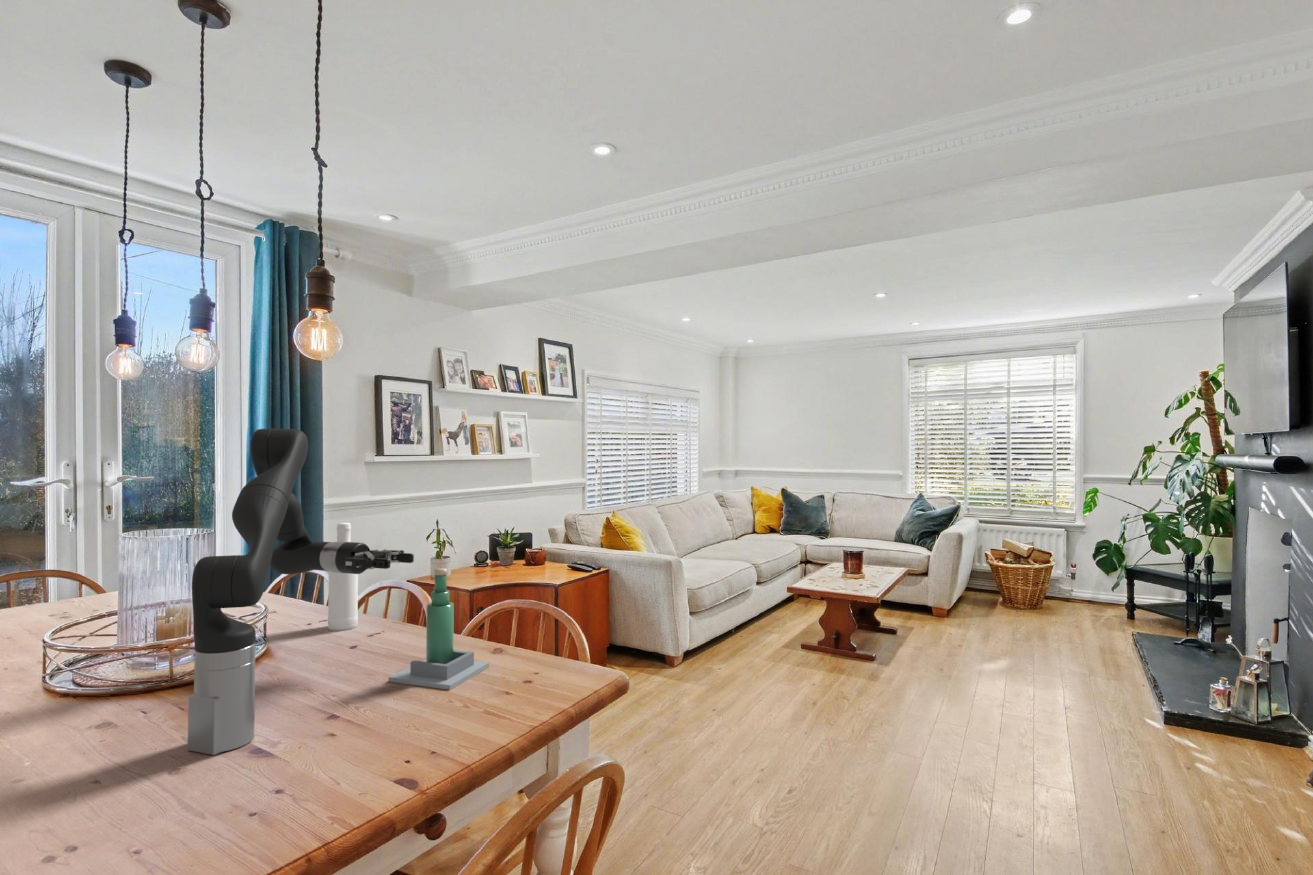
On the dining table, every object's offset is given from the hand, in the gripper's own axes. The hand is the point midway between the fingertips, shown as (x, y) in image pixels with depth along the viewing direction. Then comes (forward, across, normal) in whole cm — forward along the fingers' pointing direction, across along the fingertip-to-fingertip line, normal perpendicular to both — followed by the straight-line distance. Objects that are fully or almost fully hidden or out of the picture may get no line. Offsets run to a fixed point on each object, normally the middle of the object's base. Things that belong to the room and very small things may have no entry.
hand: (401, 561), depth 162 cm
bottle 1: (-39, +25, +25) cm, 53 cm away
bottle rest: (+11, 0, +26) cm, 28 cm away
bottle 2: (+11, 0, +24) cm, 27 cm away
